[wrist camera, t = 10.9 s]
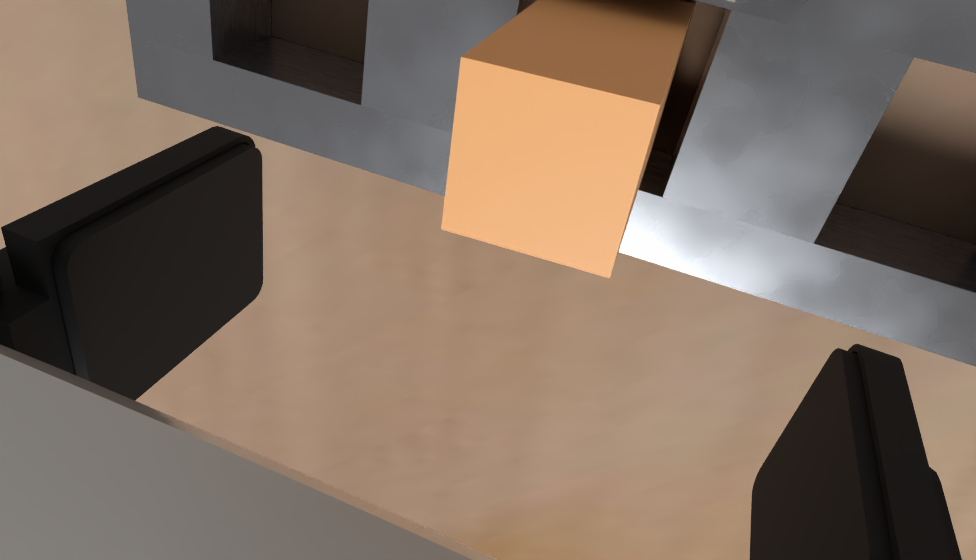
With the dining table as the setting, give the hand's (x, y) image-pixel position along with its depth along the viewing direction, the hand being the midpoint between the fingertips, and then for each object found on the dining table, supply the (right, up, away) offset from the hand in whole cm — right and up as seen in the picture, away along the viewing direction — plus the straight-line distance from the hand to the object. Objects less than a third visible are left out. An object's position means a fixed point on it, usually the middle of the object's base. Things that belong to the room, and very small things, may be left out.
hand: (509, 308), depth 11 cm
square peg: (+4, +8, +12) cm, 14 cm away
